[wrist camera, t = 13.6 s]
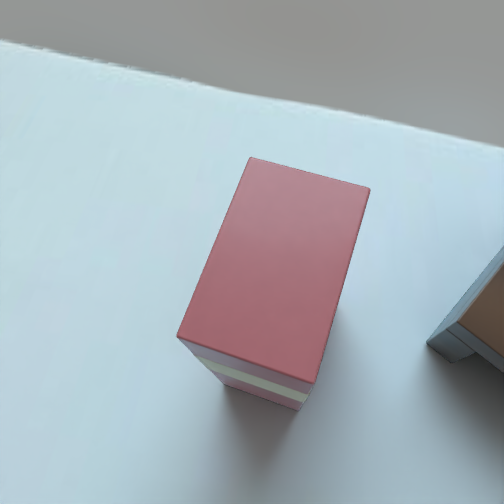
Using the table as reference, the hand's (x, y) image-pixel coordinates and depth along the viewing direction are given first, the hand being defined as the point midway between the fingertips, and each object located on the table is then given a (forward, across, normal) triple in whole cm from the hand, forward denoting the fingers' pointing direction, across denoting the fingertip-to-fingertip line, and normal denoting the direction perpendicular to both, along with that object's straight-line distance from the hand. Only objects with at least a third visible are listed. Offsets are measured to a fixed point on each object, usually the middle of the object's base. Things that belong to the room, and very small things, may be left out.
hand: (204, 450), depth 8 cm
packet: (+12, 0, +5) cm, 13 cm away
